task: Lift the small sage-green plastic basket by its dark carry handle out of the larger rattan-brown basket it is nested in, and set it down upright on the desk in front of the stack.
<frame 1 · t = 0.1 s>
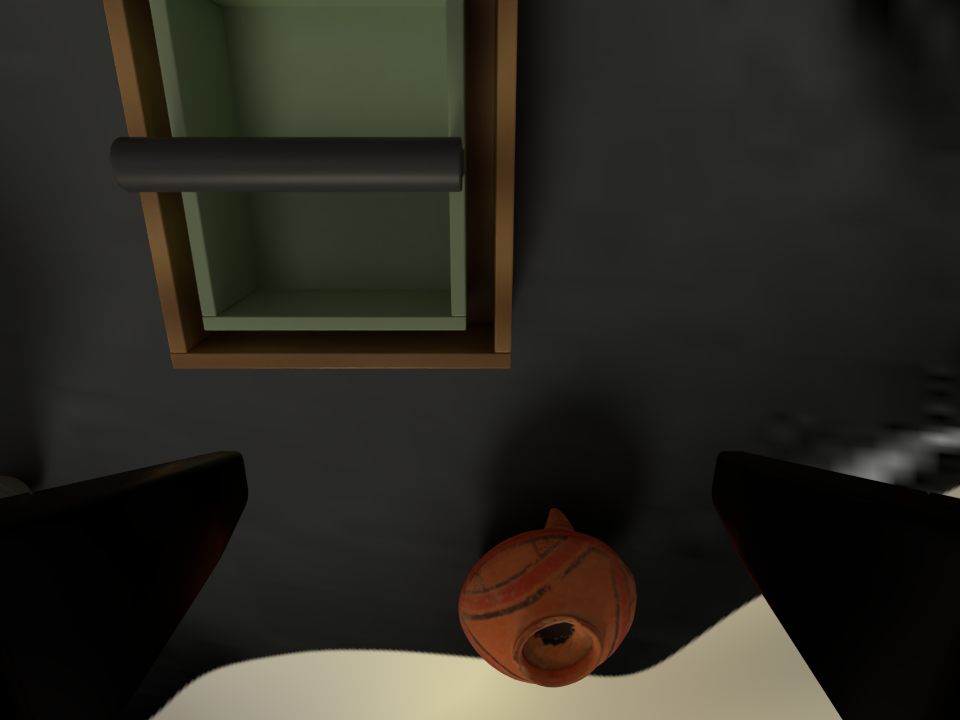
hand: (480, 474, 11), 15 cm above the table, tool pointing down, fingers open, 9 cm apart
top basket: (349, 158, 23), resting on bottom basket
pot: (539, 555, 30), on the table
lightbulb: (23, 487, 28), on the table
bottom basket: (352, 158, 23), on the table, touching top basket
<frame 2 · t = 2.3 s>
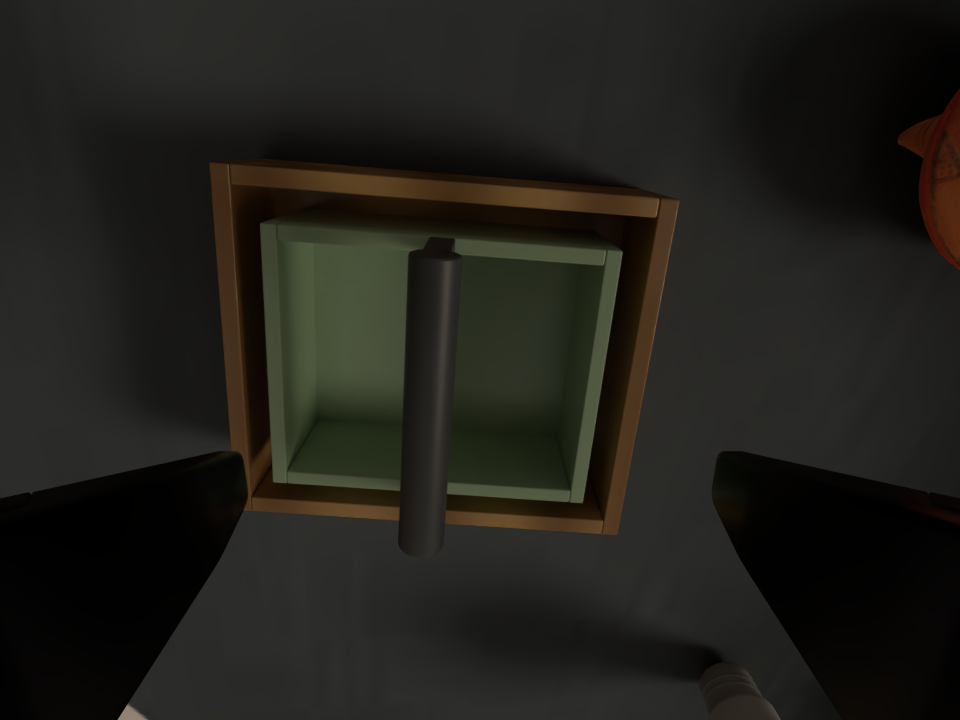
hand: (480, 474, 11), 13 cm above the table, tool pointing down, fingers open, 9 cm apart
top basket: (443, 333, 24), resting on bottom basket
lightbulb: (716, 665, 30), on the table
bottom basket: (444, 330, 24), on the table, touching top basket
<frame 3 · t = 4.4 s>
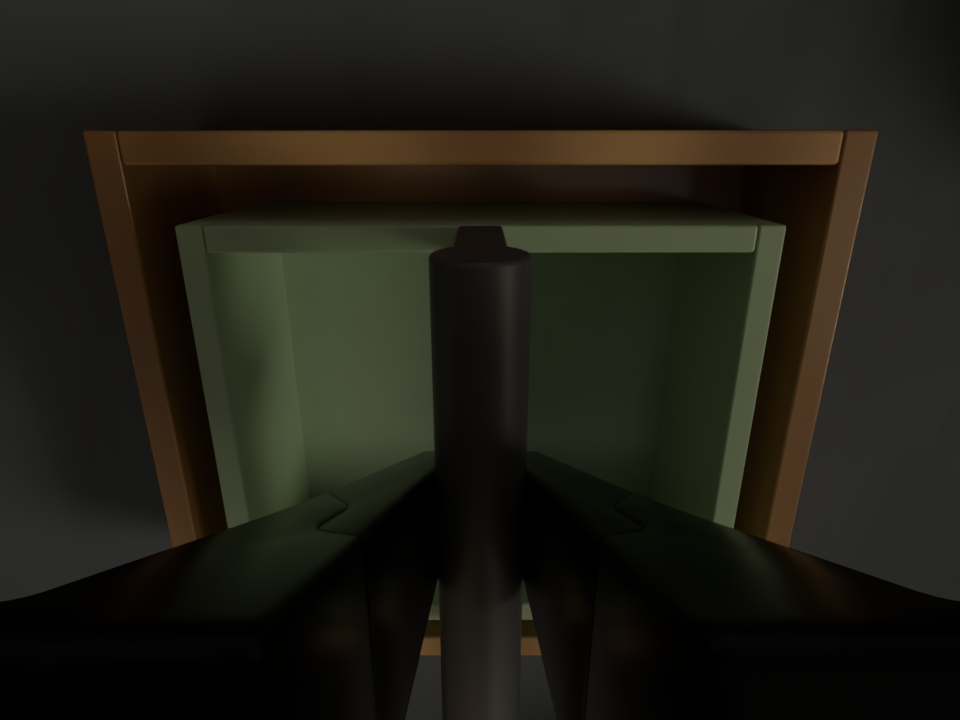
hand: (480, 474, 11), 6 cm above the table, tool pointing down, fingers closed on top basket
top basket: (480, 369, 16), resting on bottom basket, touching gripper
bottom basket: (480, 363, 17), on the table, touching top basket
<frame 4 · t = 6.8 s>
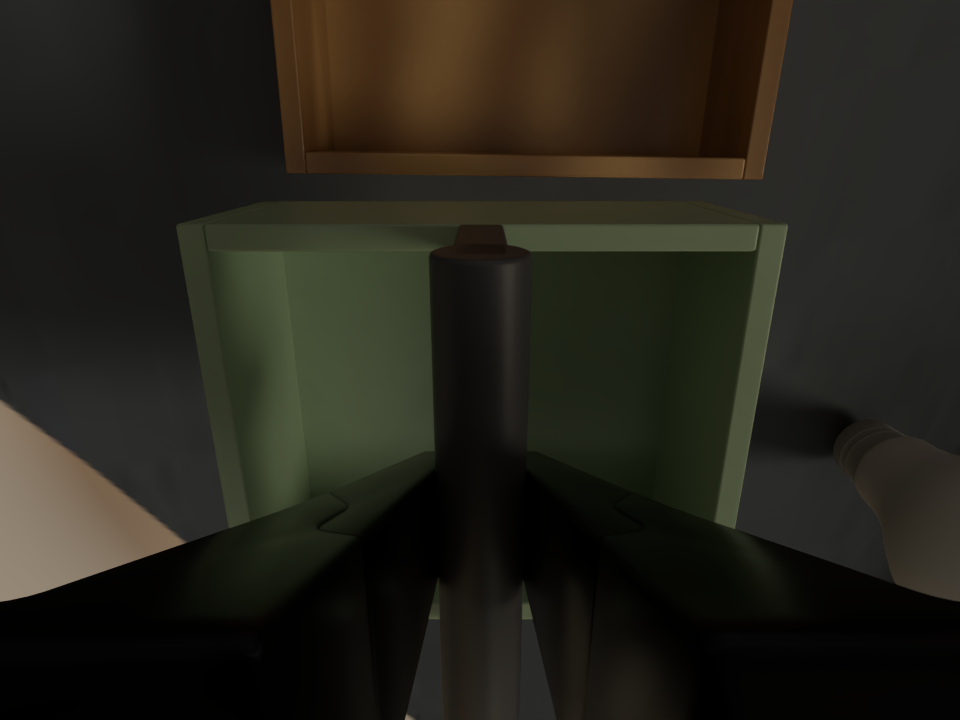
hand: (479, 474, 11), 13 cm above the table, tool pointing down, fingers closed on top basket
top basket: (481, 368, 16), point 8 cm above the table, touching gripper
lightbulb: (849, 435, 26), on the table
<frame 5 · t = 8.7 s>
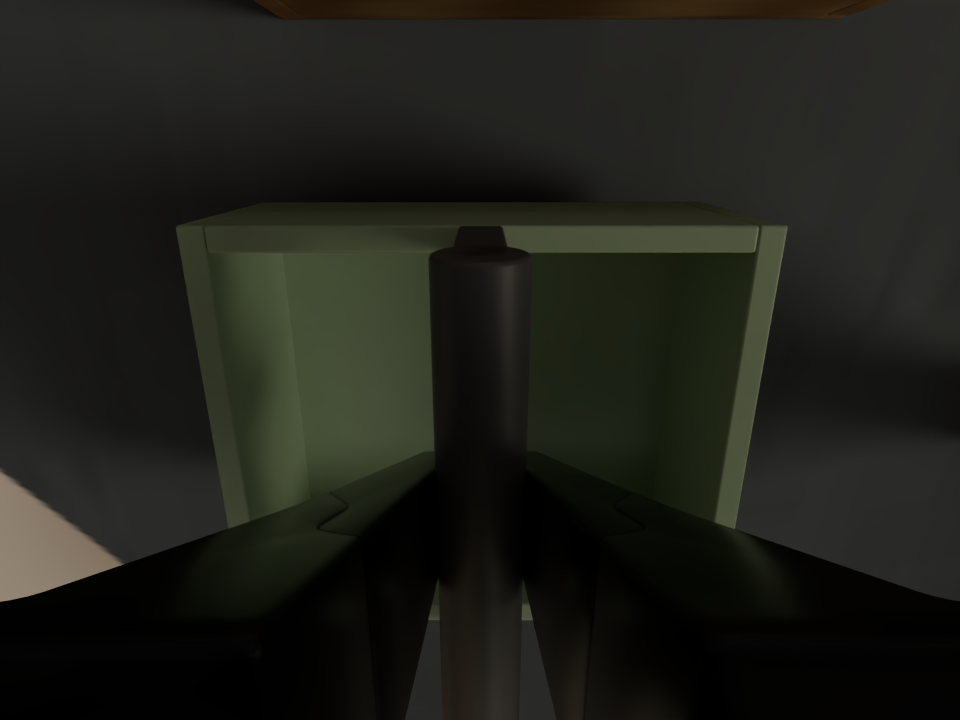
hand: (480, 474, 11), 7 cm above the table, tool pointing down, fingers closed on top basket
top basket: (481, 369, 16), point 2 cm above the table, touching gripper
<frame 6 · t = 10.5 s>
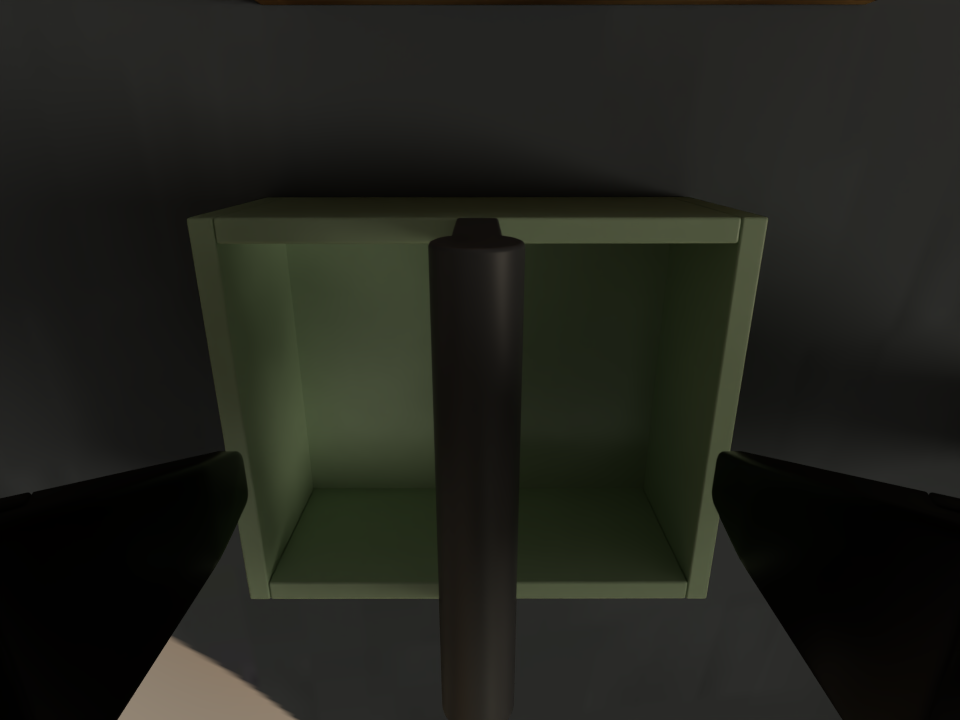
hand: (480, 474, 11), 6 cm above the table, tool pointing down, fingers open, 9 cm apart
top basket: (478, 359, 17), on the table
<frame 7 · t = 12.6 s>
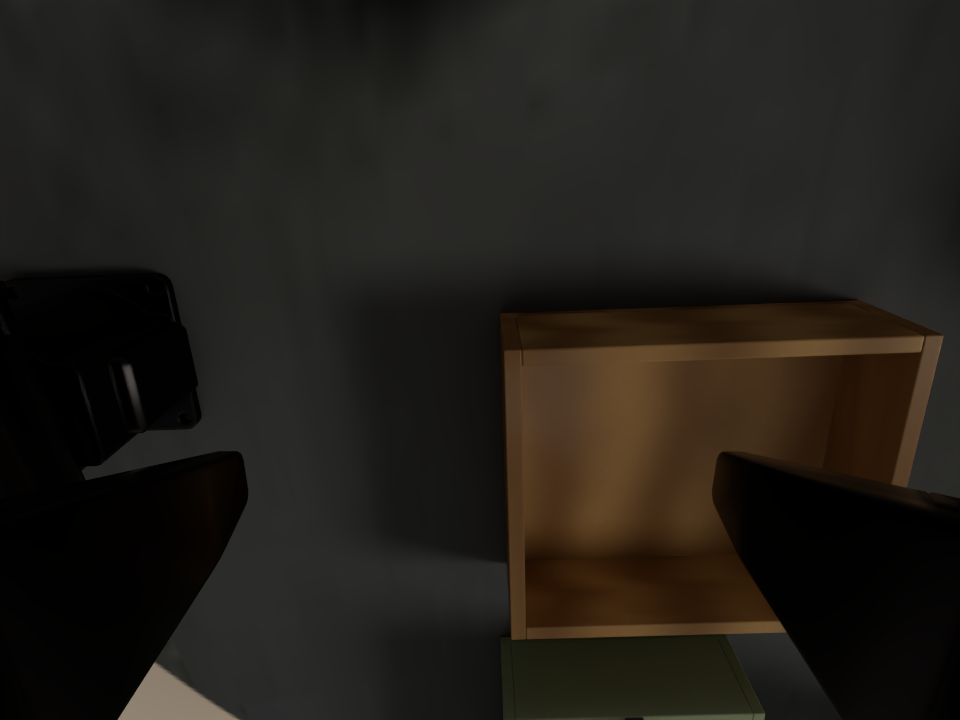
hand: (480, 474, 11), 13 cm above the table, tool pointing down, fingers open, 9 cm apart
top basket: (608, 701, 31), on the table
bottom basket: (668, 443, 25), on the table
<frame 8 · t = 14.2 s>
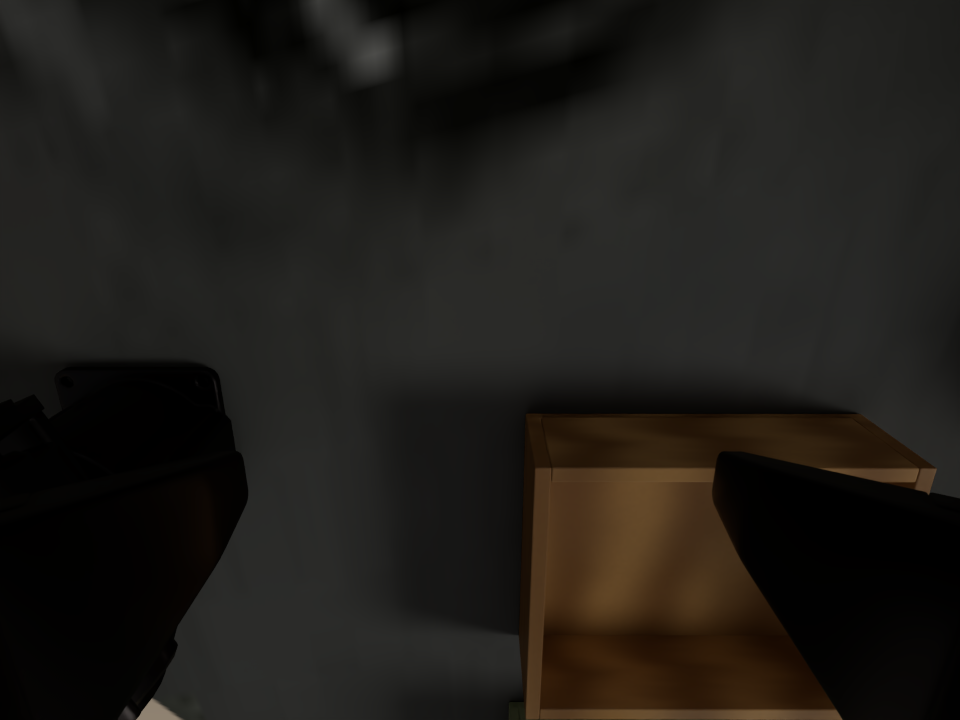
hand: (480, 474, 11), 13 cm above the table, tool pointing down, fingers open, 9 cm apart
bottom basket: (676, 533, 27), on the table
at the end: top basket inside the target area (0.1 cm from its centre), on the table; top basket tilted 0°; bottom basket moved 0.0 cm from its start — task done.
